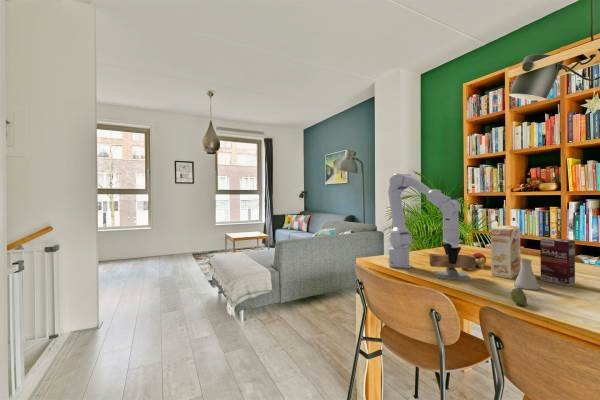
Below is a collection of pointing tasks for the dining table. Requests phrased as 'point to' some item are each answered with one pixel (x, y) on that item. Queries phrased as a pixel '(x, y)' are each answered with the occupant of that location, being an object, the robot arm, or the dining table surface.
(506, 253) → the coffeecake box
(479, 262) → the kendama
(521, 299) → the lime
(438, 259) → the beam
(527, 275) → the flask
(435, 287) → the dining table surface
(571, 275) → the supplement box
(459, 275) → the fulcrum
